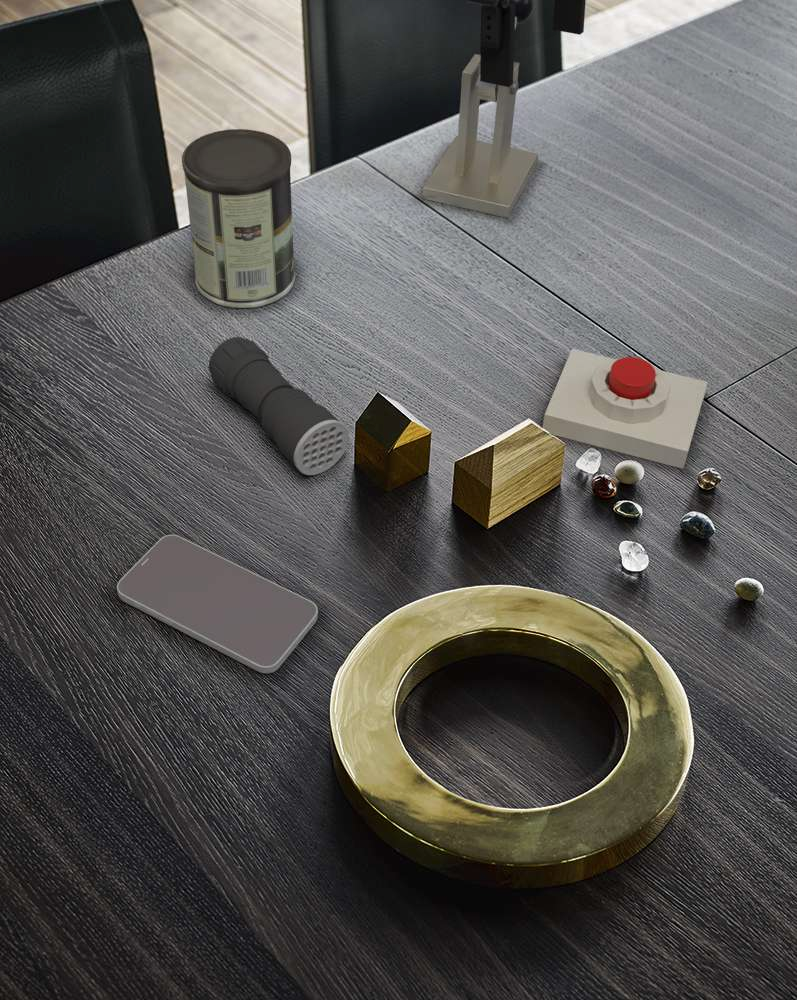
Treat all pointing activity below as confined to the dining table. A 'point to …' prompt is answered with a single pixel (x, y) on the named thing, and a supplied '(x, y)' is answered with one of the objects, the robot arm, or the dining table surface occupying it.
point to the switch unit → (482, 155)
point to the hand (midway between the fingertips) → (533, 56)
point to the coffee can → (240, 217)
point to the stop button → (631, 378)
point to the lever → (522, 13)
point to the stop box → (625, 411)
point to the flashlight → (279, 406)
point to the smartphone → (218, 603)
